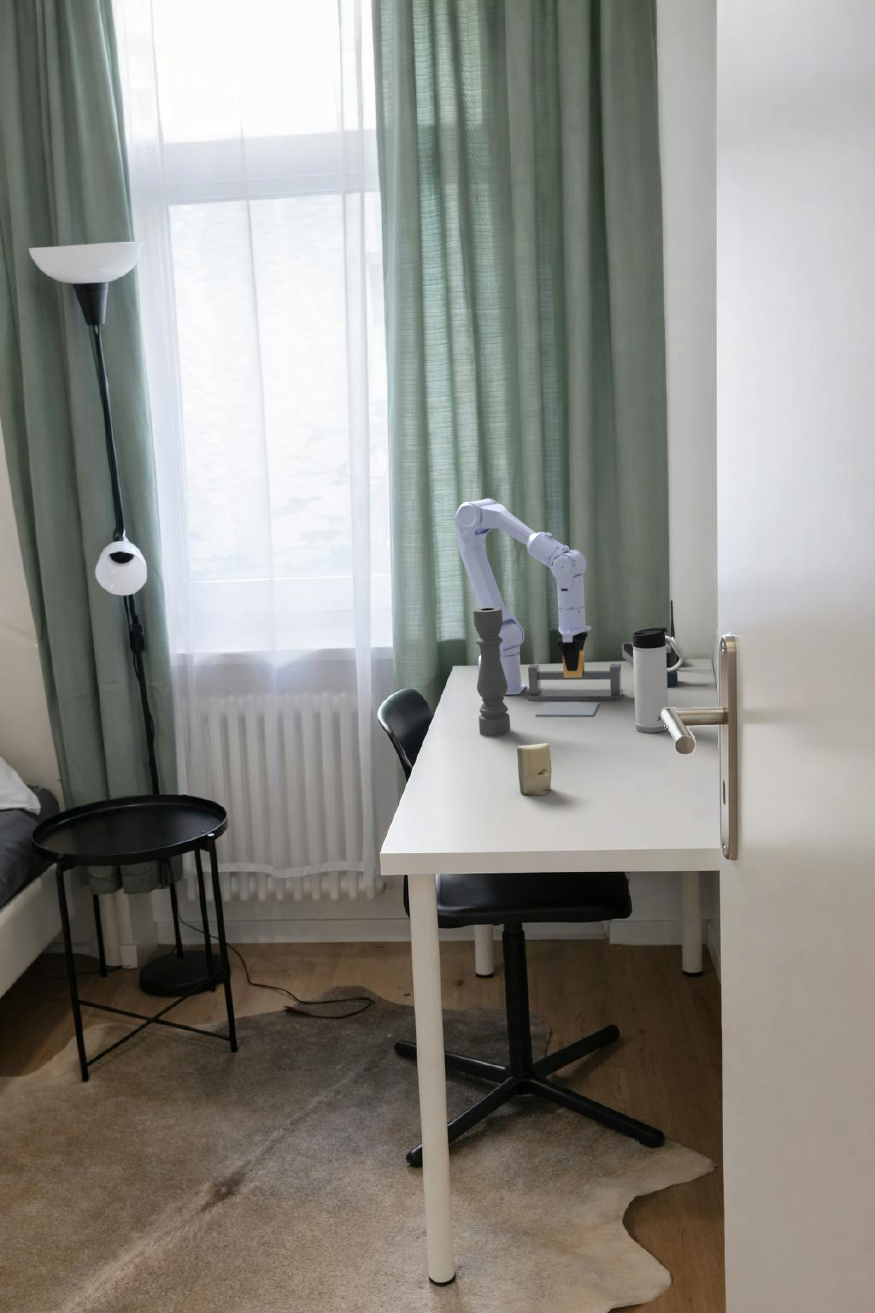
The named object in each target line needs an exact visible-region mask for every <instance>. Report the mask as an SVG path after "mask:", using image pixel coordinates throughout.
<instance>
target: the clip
mask: <svg viewBox="0 0 875 1313" xmlns="http://www.w3.org/2000/svg"><path fill="white" fill-rule="evenodd" d="M562 667H563V668H562V671H563V673H564V678H580V677H583V674H582V671H586V666H585V650H584V649H583V650H580V653H579V662H578V669H577V671H567V668H566V664H565V660H564V657H563V656H562Z"/></svg>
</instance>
